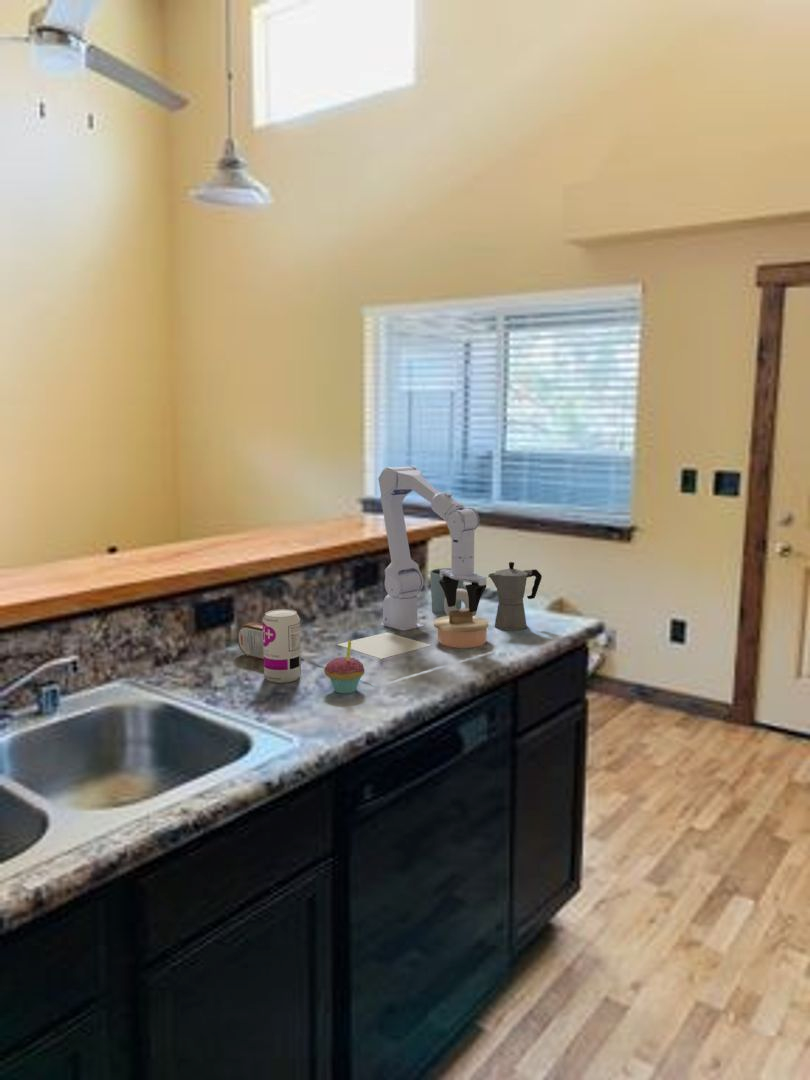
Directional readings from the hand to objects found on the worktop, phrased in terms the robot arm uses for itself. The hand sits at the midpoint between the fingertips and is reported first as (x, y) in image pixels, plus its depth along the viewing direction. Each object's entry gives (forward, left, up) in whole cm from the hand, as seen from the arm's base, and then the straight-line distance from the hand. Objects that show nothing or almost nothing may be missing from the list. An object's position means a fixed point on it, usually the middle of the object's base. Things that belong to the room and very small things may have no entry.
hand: (462, 608), depth 219 cm
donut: (-14, +14, -9) cm, 22 cm away
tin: (-24, -45, -9) cm, 52 cm away
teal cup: (-27, +22, -9) cm, 36 cm away
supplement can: (-8, -50, -9) cm, 51 cm away
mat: (-11, -17, -9) cm, 22 cm away
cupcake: (+8, -45, -9) cm, 47 cm away
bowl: (0, 0, -9) cm, 9 cm away
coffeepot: (-2, +23, -9) cm, 25 cm away
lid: (0, 0, -4) cm, 4 cm away
